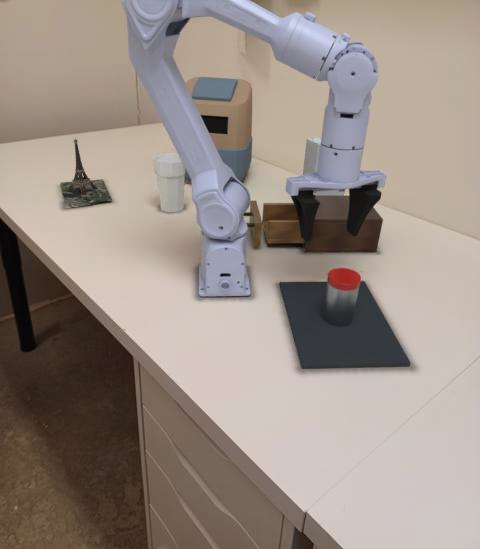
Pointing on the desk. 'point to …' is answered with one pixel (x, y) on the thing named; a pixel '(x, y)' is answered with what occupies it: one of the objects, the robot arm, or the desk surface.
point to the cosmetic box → (316, 164)
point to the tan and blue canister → (226, 118)
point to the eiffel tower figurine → (83, 187)
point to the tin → (341, 296)
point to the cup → (170, 181)
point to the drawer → (274, 223)
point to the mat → (340, 331)
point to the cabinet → (342, 228)
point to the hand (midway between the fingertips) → (329, 236)
